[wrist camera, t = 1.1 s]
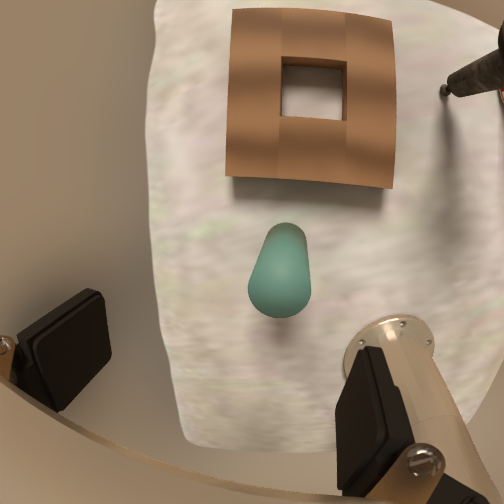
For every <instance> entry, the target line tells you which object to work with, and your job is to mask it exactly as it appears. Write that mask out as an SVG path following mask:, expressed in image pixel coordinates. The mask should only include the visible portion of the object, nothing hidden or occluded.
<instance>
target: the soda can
mask: <svg viewBox="0 0 504 504" xmlns="http://www.w3.org/2000/svg"><path fill="white" fill-rule="evenodd" d="M499 90H500V95H501V98H502V101H503V103H504V89H499Z"/></svg>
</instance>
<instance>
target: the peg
mask: <svg viewBox="0 0 504 504" xmlns="http://www.w3.org/2000/svg"><path fill="white" fill-rule="evenodd" d="M248 294H249V298H250V300H251V302H252V304H253V305H254V306H255V307H256V309H258V310H259V311H260V312H261V313H263V314H265V315H267V316H270V317H274V318H286V317H290V316H293V315H295V314H297V313H299V312H300V311H301V310H302V309H303V308H304V307H305V306H306V305H307V303H308V301H309V299H310V295H311V282H310V272H309V261H308V251H307V242H306V237H305V234H304V232H303V231H302V230H301V229H300V228H299V227H298V226H296V225H294V224H292V223H280V224H277V225H275V226H274V227H272V228H271V229H270V231H269V232H268V234H267V236H266V239H265V241H264V244H263V246H262V249H261V252H260V254H259V257H258V259H257V262H256V264H255V267H254V269H253V272H252V275H251V277H250V280H249V283H248Z"/></svg>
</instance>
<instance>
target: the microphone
mask: <svg viewBox="0 0 504 504" xmlns="http://www.w3.org/2000/svg"><path fill="white" fill-rule="evenodd" d="M498 47H499V49H497V50H495V51H493V52H491V53H489V54H487V55H485V56H483V57H482V58H480V59H478V60H476V61H474V62H472V63H470V64H469V65H467V66H465V67H463V68H461V69H460V70H458V71H456V72H454V73H453V74H451V75H449V76H448V79H447V85H442V86H441V87H440V91H441V93H442V94H443V95H445V96H448V95H450V93H451V92H452V94H454V95H455V96H457V97H465V96H470V95H474V94H479V93H483V92H488V91H493V90H498V89H504V21H503V24H502V26H501V28H500V31H499V36H498Z"/></svg>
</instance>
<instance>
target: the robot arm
mask: <svg viewBox="0 0 504 504" xmlns="http://www.w3.org/2000/svg"><path fill="white" fill-rule="evenodd" d="M17 338H18V341H19V343H18V344H17V345H16V343H15V341H14V339H13V338H11V337H9V336H4V335H1V336H0V504H504V499H503V498H502V496H501V494H500V492H499V491H498V489H497V487H496V486H495V484H494V482H493V481H492V479H491V477H490V475H489V474H488V472H487V470H486V468H485V466H484V464H483V462H482V461H481V458H480V456H479V454H478V452H477V450H476V447H475V445H474V444H473V441H472V439H471V437H470V434H469V432H468V430H467V428H466V425H465V423H464V421H463V419H462V417H461V414H460V412H459V410H458V408H457V406H456V404H455V402H454V400H453V398H452V395H451V393H450V391H449V389H448V387H447V385H446V383H445V381H444V380H443V378H442V376H441V374H440V372H439V370H438V368H437V366H436V364H435V362H434V361H433V359H432V356H433V353H434V345H435V344H434V337H433V335H432V333H431V331H430V329H429V328H428V326H427V325H426V324H425V323H424V322H423V321H421V320H420V319H418V318H416V317H413V316H409V315H393V316H389V317H385V318H382V319H379V320H377V321H375V322H373V323H371V324H370V325H368V326H367V327H365V328H364V329H363V330H362V331H360V332H359V333H358V334H357V335H356V336H355V338H354V339H353V340H352V341H351V343H350V345H349V346H348V348H347V351H346V353H345V357H344V369H345V374H346V377H347V381H346V383H345V386H344V388H343V390H342V393H341V395H340V398H339V400H338V402H337V405H336V409H335V422H336V447H337V488H338V490H342V496H334V495H322V494H309V493H298V492H290V491H283V490H275V489H269V488H263V487H256V486H251V485H246V484H241V483H236V482H231V481H227V480H222V479H218V478H214V477H210V476H206V475H203V474H199V473H195V472H192V471H188V470H185V469H182V468H179V467H176V466H173V465H170V464H167V463H164V462H161V461H158V460H155V459H153V458H150V457H147V456H145V455H142V454H140V453H137V452H135V451H132V450H130V449H127V448H125V447H123V446H120V445H118V444H116V443H114V442H111V441H109V440H107V439H105V438H103V437H101V436H99V435H97V434H95V433H93V432H91V431H89V430H87V429H85V428H83V427H81V426H79V425H77V424H75V423H74V422H72V421H70V420H68V419H67V418H65V417H63V416H61V415H60V414H58V412H59V411H62V410H64V409H65V408H66V407H67V406H68V405H69V404H70V403H71V402H72V400H73V399H74V398H75V397H76V396H77V395H78V394H79V393H80V392H81V391H82V390H83V388H84V387H85V386H86V385H87V384H88V383H89V382H90V380H92V379H93V378H94V376H95V375H96V374H97V373H98V372H99V371H100V370H101V369H102V368H103V367H104V366H105V365H106V364H107V363H108V361H109V360H110V359H111V355H112V352H111V345H110V339H109V332H108V325H107V317H106V308H105V300H104V298H103V296H102V294H101V293H100V292H99V291H96V290H92V289H89V288H86V289H84V290H83V291H81V292H80V293H78V294H76V295H75V296H74V297H72V298H70V299H69V300H67V301H66V302H64V303H63V304H61V305H60V306H58V307H57V308H55V309H54V310H52V311H51V312H49V313H48V314H46V315H45V316H43V317H42V318H40V319H39V320H37V321H36V322H34V323H33V324H31V325H30V326H29V327H27V328H26V329H24V330H23V331H21V332H20V333H18V334H17Z"/></svg>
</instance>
